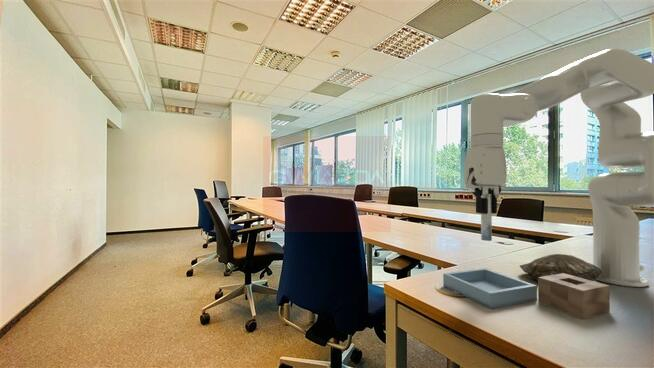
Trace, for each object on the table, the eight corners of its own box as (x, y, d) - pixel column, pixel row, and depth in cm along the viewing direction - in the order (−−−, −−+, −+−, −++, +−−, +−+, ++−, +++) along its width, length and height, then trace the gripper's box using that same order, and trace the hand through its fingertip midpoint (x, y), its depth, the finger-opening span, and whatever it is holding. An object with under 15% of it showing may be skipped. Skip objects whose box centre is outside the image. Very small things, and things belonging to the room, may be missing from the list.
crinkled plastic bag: (505, 256, 88) (554, 241, 92) (510, 283, 88) (558, 267, 93) (557, 270, 72) (613, 251, 77) (563, 304, 72) (619, 283, 77)
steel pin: (485, 238, 74) (485, 193, 74) (493, 240, 72) (493, 194, 72) (478, 239, 73) (479, 193, 74) (486, 241, 71) (486, 194, 71)
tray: (484, 279, 82) (484, 268, 82) (537, 299, 68) (536, 285, 68) (443, 286, 78) (443, 273, 78) (490, 308, 63) (490, 293, 63)
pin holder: (563, 297, 70) (563, 273, 70) (609, 312, 61) (609, 285, 61) (538, 302, 67) (538, 277, 67) (582, 319, 58) (582, 290, 58)
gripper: (496, 146, 79) (496, 211, 79) (451, 143, 74) (450, 212, 74) (522, 142, 72) (522, 213, 72) (474, 139, 67) (474, 215, 67)
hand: (486, 212), depth 73 cm, fingers closed on steel pin, 2 cm apart
